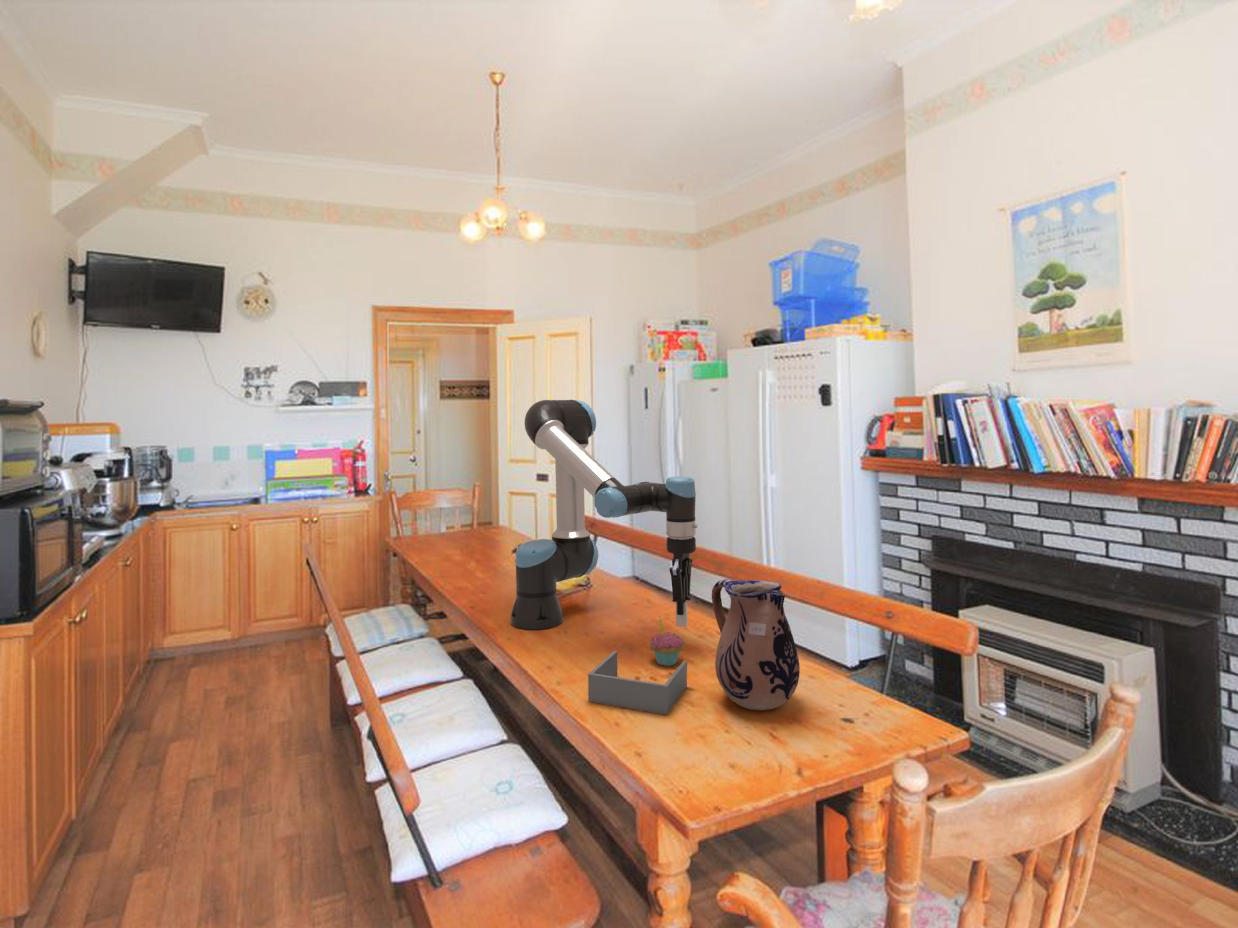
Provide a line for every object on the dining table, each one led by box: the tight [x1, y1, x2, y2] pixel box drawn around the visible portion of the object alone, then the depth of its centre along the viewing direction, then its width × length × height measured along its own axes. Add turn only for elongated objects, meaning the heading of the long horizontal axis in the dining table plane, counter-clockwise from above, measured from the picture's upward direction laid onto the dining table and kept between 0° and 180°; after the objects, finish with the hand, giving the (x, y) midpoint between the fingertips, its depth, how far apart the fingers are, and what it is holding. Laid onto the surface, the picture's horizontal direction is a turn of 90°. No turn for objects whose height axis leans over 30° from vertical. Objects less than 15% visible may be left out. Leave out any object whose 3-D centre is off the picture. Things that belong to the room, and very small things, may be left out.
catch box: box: [587, 650, 688, 716], centre depth 147 cm, size 18×15×6 cm
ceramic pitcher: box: [711, 578, 801, 711], centre depth 143 cm, size 18×21×25 cm
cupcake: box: [649, 615, 685, 667], centre depth 165 cm, size 9×8×12 cm
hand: (681, 625), depth 176 cm, fingers closed
